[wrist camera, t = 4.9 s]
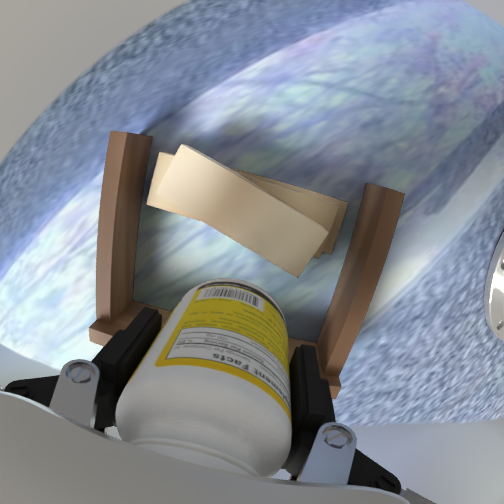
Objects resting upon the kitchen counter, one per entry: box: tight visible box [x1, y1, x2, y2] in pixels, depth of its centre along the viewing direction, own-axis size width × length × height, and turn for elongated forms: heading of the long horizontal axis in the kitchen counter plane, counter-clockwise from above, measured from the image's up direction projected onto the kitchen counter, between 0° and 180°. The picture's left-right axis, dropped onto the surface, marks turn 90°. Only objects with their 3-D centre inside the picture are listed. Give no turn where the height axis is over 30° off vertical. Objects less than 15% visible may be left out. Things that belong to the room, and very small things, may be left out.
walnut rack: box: [89, 131, 405, 399], centre depth 16 cm, size 15×12×4 cm
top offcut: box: [155, 144, 328, 278], centre depth 15 cm, size 8×3×1 cm, turn 59°
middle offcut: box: [146, 152, 338, 258], centre depth 16 cm, size 10×3×1 cm, turn 73°
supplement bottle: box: [116, 278, 292, 478], centre depth 10 cm, size 5×5×10 cm
